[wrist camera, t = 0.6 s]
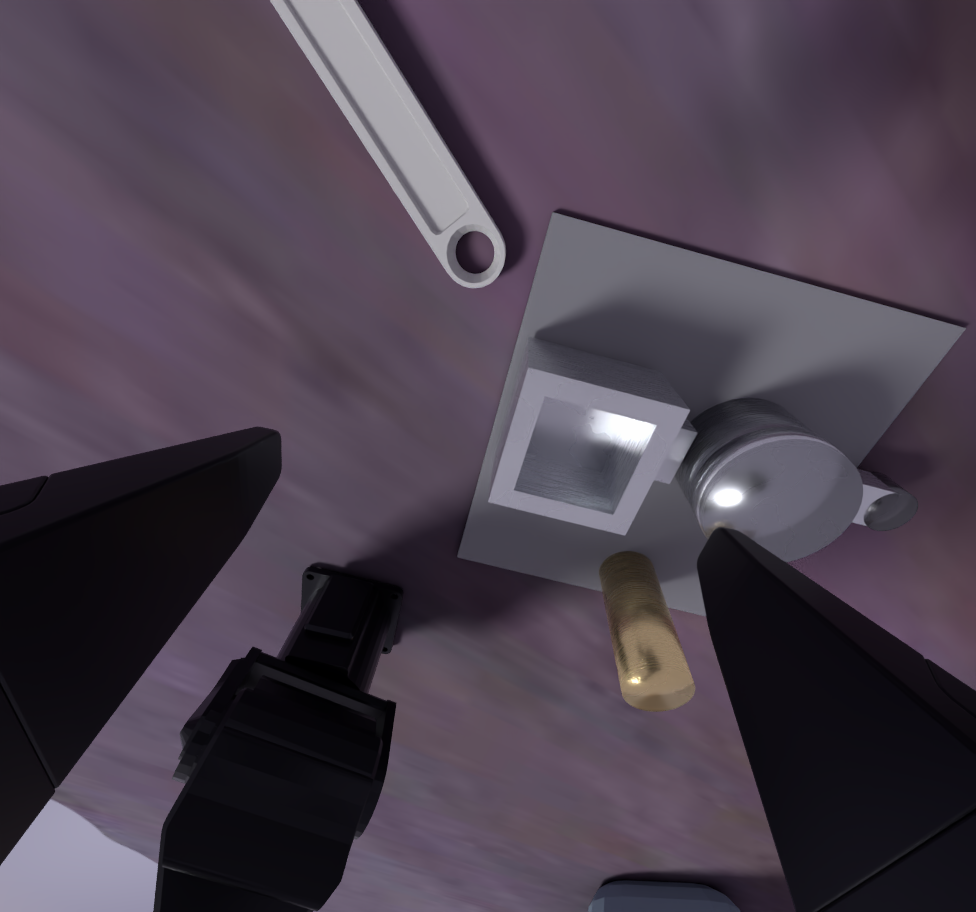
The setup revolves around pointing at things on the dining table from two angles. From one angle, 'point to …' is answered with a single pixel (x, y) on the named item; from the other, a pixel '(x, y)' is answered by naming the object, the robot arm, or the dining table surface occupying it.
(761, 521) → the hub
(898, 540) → the dining table surface
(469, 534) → the mat
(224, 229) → the dining table surface
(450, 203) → the adjustable wrench
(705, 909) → the alarm clock
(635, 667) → the brass rounded cylinder
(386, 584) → the robot arm
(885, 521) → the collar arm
